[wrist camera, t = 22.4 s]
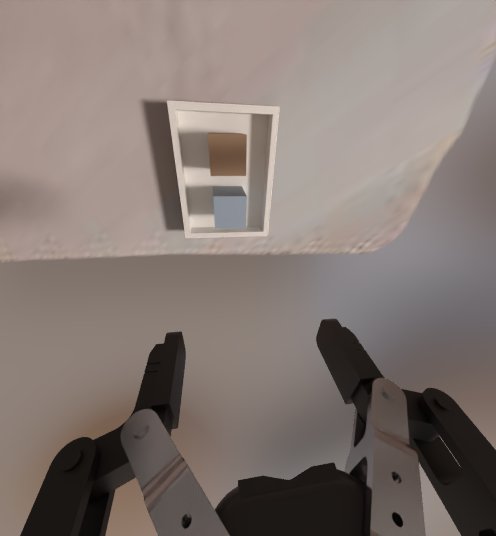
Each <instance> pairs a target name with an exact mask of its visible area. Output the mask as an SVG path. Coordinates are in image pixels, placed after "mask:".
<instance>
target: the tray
mask: <svg viewBox="0 0 496 536" xmlns="http://www.w3.org/2000/svg"><path fill="white" fill-rule="evenodd" d="M167 106H168V113H169V120H170V128H171V135H172V142H173V150H174V157H175V164H176V171H177V179H178V186H179V193H180V201H181V208H182V215H183V223H184V230H185V237H186V238H211V237H245V236H268V228H269V217H270V206H271V196H272V185H273V174H274V163H275V153H276V142H277V131H278V120H279V109H280V107H273V106H255V105H237V104H220V103H202V102H185V101H167ZM208 133H242V134H246V135H247V154H246V176H211V175H210V160H209V145H208ZM213 186H242V188H243V190H244V192H245V194H246V195H247V212H246V228H215V220H214V201H213Z"/></svg>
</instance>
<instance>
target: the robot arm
mask: <svg viewBox="0 0 496 536" xmlns="http://www.w3.org/2000/svg"><path fill="white" fill-rule="evenodd" d="M316 341H317V345H318V348H319V350H320V352H321V354H322V356H323V358H324V360H325V363H326V364H327V367H328V369H329V371H330V373H331V375H332V377H333V379H334V381H335V383H336V385H337V387H338V389H339V391H340V393H341V395H342V398H343V400H344V402H345V404H351V403H354V405H355V407H356V410H355V415H354V423H353V432H352V440H351V448H350V453H349V455H348V458H347V461H346V466H345V472H343V471H341V470H338V469H336V467H335V464H334V463H328V464H323V465H318V466H313V467H310V468H309V469H307V470H305V471H304V472H302V473H301V474H299V475H298V476H296V477H294V478H293V479H291V480H284V479H278V478H272V477H267V476H260V477H254V478H249V479H243V480H238V487H236V488H235V489H233V490H232V491H231V492H229V493H228V494H227V495H226V496H225V497H224V498H223V499H222V500H221V502H220V503H219V504H218V506H217V507H216V509H215V510H214V508H213V507H212V505H211V503H210V501H209V500H208V498H207V496H206V495H205V493H204V491H203V489H202V488H201V486H200V484H199V483H198V481H197V479H196V478H195V476H194V474H193V473H192V471H191V469H190V468H189V466H188V464H187V463H186V461H185V460H184V458H183V457H182V456H181V454H180V453H179V451H178V449H177V448H176V446H175V444H174V442H173V441H172V439H171V430H172V429H176V428H178V423H179V414H180V405H181V395H182V386H183V378H184V369H185V358H186V357H185V356H186V352H185V345H184V340H183V336H182V332H170V333H167V334H166V337H165V342H164V344H156V345H155V347H154V348H153V350H152V351H151V352H150V354H149V358H148V362H147V366H146V369H145V374H144V376H143V380H142V384H141V388H140V391H139V395H138V398H137V402H136V406H135V409H134V411H133V413H132V414H131V416H130V417H129V419H128V420H127V421H126V422H125V423H124V424H123V425H121V426H120V427H119V428H117V429H115V430H113V431H111V432H109V433H107V434H105V435H103V436H101V437H99V438H97V439H94V440H92V439H91V438H88V437H81V438H78V439H76V440H73V441H72V442H70V443H69V444H67V445H66V446H65V447H64V448H62V449H61V450H60V452H59V453H58V454H57V455H56V457H55V458H54V460H53V461H52V463H51V465H50V467H49V470H48V472H47V474H46V477H45V479H44V481H43V484H42V486H41V488H40V491H39V493H38V496H37V498H36V500H35V503H34V505H33V507H32V509H31V512H30V514H29V516H28V519H27V521H26V524H25V526H24V528H23V531H22V533H21V535H20V536H105V534H106V530H107V524H108V520H109V516H110V511H111V506H112V502H113V498H114V493H115V489H117V488H118V487H120V486H122V485H123V484H125V483H127V482H129V481H130V480H132V479H134V478H135V477H136V479H137V481H138V483H139V486H140V488H141V490H142V493H143V496H144V501H145V505H146V508H147V510H148V513H149V515H150V517H151V520H152V522H153V524H154V527H155V529H156V532H157V534H158V536H426V535H425V526H424V525H425V524H424V515H423V503H422V492H421V482H420V472H419V463H420V464H421V466H422V468H423V470H424V471H425V473H426V475H427V477H428V478H429V480H430V482H431V484H432V485H433V487H434V489H435V491H436V492H437V494H438V496H439V497H440V499H441V501H442V503H443V504H444V506H445V508H446V510H447V511H448V513H449V515H450V516H451V518H452V520H453V522H454V524H455V525H456V527H457V529H458V531H459V532H460V534H461V536H496V450H495V449H494V448H493V446H492V445H491V444H490V443H489V442H488V440H487V439H486V438H485V437H484V436H483V434H482V433H481V432H480V431H479V430H478V428H477V427H476V426H475V425H474V424H473V422H472V421H471V420H470V419H469V418H468V416H467V415H466V414H465V413H464V412H463V410H462V409H461V408H460V407H459V406H458V405H457V403H456V402H455V401H454V400H453V399H452V398H451V397H450V396H448V395H447V394H446V393H444V392H442V391H440V390H438V389H435V388H427V389H426V390H425V391H424V392H423V393H418V392H413V391H408V390H403V389H401V388H400V387H399V386H398V385H397V384H395V383H394V382H392V381H390V380H388V379H385V378H384V377H383V375H382V374H381V373H380V371H379V370H378V368H377V367H376V365H375V364H374V362H373V361H372V360H371V358H370V357H369V355H368V354H367V352H366V351H365V350H364V348H363V347H362V345H361V344H360V343H359V341H358V339H357V338H356V336H355V335H354V334H353V333H352V332H351V331H350V330H349V329H347V328H346V327H342V326H341V325H340V323H339V322H338V320H337V319H325V320H322V321H321V324H320V327H319V330H318V333H317V337H316ZM439 436H440V437H441V438H442V440H443V441H444V443H445V444H446V446H447V447H448V448H449V450H450V451H451V453H452V454H453V456H454V457H455V459H456V460H457V462H458V463H459V464H458V463H457V462H456V460H455V459H454V457H453V456H452V454H451V453H450V451H449V450H448V448H447V447H446V446H445V444H444V443H443V441H442V440H441V438H440V437H439ZM459 465H460V466H459Z"/></svg>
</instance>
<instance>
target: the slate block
mask: <svg viewBox="0 0 496 536" xmlns="http://www.w3.org/2000/svg"><path fill="white" fill-rule="evenodd" d="M213 201H214V220H215V228H246V212H247V195H246V194H245V192H244V190H243V188H242V186H213Z"/></svg>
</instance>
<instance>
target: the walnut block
mask: <svg viewBox="0 0 496 536" xmlns="http://www.w3.org/2000/svg"><path fill="white" fill-rule="evenodd" d="M208 145H209V160H210V175H211V176H246V154H247V135H246V134H242V133H208Z"/></svg>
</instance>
